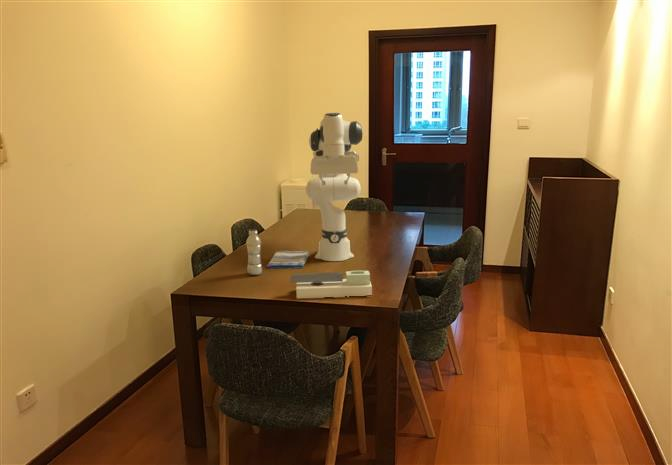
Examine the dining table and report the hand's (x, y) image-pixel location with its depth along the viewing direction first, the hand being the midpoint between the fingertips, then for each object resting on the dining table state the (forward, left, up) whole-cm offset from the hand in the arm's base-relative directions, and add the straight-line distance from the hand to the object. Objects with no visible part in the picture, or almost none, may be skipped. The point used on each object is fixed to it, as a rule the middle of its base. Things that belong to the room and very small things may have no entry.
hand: (334, 185), depth 227 cm
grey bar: (+25, -9, -35) cm, 44 cm away
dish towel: (-21, -22, -40) cm, 50 cm away
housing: (+25, -2, -39) cm, 47 cm away
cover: (+25, +7, -35) cm, 44 cm away
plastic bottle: (-2, -36, -39) cm, 53 cm away
